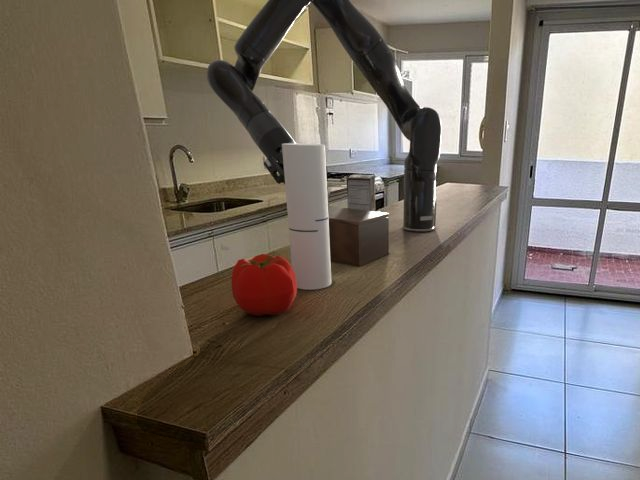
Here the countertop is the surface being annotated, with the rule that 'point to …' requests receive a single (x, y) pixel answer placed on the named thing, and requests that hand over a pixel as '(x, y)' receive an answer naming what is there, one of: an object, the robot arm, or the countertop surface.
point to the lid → (352, 215)
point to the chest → (359, 242)
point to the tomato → (264, 285)
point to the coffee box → (361, 192)
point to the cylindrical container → (308, 213)
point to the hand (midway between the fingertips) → (313, 192)
